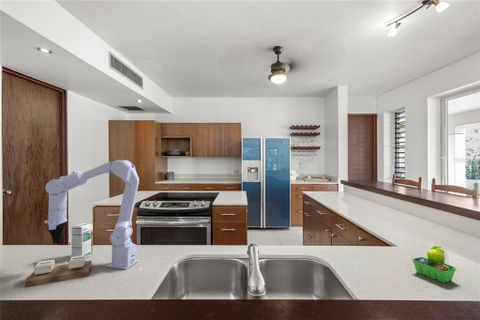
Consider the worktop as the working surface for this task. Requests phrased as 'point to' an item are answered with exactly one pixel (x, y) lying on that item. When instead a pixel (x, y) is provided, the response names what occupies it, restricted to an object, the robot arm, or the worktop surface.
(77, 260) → the white square block
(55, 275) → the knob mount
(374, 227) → the worktop surface
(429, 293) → the worktop surface
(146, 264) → the worktop surface
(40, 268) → the knob outer
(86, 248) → the syrup box
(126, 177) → the robot arm
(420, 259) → the fruit basket
